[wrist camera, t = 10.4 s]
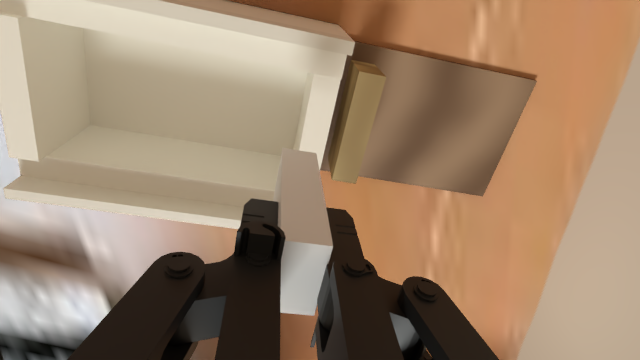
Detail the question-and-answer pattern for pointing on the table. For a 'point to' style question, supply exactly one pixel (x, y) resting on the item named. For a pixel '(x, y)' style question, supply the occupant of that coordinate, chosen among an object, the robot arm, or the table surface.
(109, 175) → the box
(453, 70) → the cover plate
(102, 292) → the table surface
